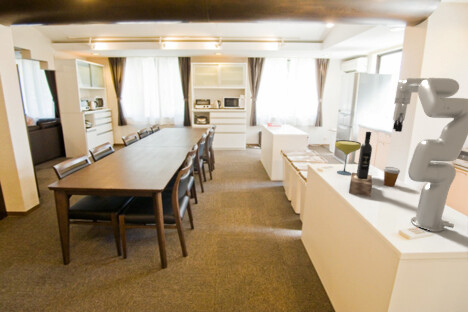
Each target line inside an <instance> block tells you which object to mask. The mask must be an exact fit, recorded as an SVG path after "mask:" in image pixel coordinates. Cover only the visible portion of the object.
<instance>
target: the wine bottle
mask: <svg viewBox="0 0 468 312" xmlns="http://www.w3.org/2000/svg"><path fill="white" fill-rule="evenodd" d="M371 136H372V132H371V131H366V132H365V137H364V142H363V143H362V144H361V147H360V149H359V156H358V163H357V171H356V173H357V177H358V178H359V179H367V178H368V175H369V170H370V165H371V157H372V152H373V151H372V150H373V147H372V145H371V144H370V143H371V142H370V141H371Z"/></svg>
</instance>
